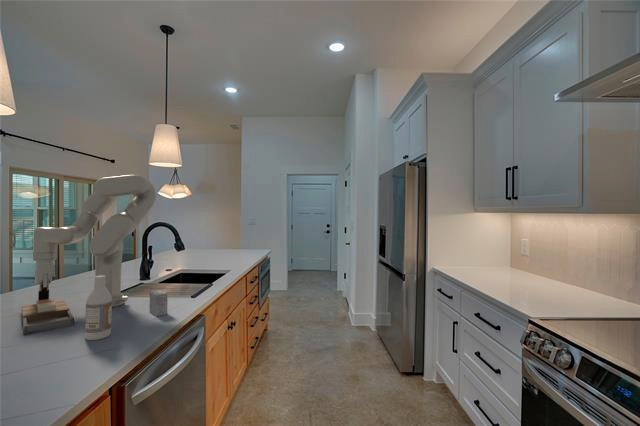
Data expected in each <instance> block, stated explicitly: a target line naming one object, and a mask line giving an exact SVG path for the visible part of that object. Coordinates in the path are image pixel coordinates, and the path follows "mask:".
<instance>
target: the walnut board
mask: <svg viewBox="0 0 640 426" xmlns="http://www.w3.org/2000/svg"><path fill="white" fill-rule="evenodd" d="M54 302H55V304H56V310H52V311H45V312H39V313H38V310H37V307H36V303H34V304H26V305H21V322H22V323H21V324H23V318H25V317H26V319H27V322H32V321H38V320H44V319H50V318H56V317H62V316H67V311H69V310H70V307H69V306H68V303H67V302H66V300H65V299H63V300H56V301H55V300H54ZM70 311H71V310H70Z"/></svg>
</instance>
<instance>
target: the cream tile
mask: <svg viewBox="0 0 640 426" xmlns="http://www.w3.org/2000/svg"><path fill="white" fill-rule="evenodd" d="M37 310H38V313H39V312H45V311H52V310H56V304H55V302H50V303H43V304H37Z"/></svg>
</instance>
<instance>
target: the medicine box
mask: <svg viewBox="0 0 640 426" xmlns="http://www.w3.org/2000/svg"><path fill="white" fill-rule="evenodd" d="M168 299H169V298H168V293H167V292H165V291H163V290H161V289H160V290H159V289H157V290H152V291H149V307H148V308H149V311H148V312H149V313H150V314H152V315H154V317H160V316H165V315H168Z"/></svg>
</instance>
